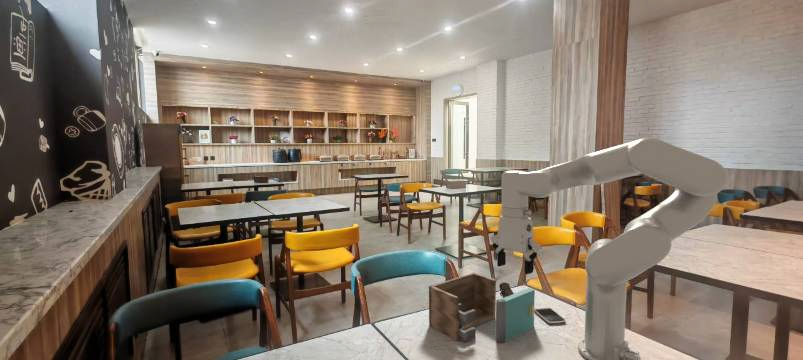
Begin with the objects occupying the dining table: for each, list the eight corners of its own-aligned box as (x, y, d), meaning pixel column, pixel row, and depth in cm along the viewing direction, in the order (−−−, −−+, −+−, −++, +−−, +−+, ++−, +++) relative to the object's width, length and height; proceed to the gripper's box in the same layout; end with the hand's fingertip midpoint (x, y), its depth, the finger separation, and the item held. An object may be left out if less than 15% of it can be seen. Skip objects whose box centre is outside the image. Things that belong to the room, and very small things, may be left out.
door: (536, 328, 121) (537, 290, 119) (503, 344, 111) (503, 304, 110) (527, 324, 123) (527, 287, 122) (493, 340, 113) (494, 300, 112)
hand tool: (499, 291, 151) (499, 280, 151) (509, 292, 151) (509, 280, 150) (508, 313, 132) (508, 300, 132) (520, 313, 132) (520, 300, 132)
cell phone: (549, 326, 122) (549, 322, 122) (532, 311, 133) (532, 307, 133) (567, 325, 123) (567, 321, 123) (548, 310, 134) (549, 306, 134)
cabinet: (507, 323, 124) (507, 284, 123) (461, 343, 112) (461, 300, 110) (473, 308, 135) (474, 272, 134) (429, 325, 123) (428, 286, 122)
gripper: (548, 214, 109) (548, 273, 110) (499, 207, 123) (499, 260, 124) (533, 218, 105) (532, 279, 106) (483, 210, 118) (483, 265, 120)
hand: (514, 269), depth 115 cm, fingers open, 9 cm apart
